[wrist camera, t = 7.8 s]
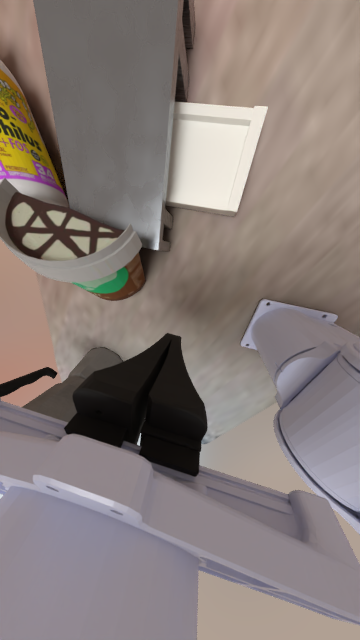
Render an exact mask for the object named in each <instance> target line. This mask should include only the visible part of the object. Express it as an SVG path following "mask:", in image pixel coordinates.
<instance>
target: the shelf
mask: <svg viewBox="0 0 360 640" xmlns="http://www.w3.org/2000/svg"><path fill="white" fill-rule="evenodd" d="M33 2H34V7H35V13H36V19H37V24H38V30H39V36H40V41H41V47H42V53H43V58H44V64H45V70H46V76H47V81H48V87H49V93H50V98H51V104H52V110H53V115H54V121H55V127H56V132H57V138H58V144H59V149H60V155H61V161H62V166H63V172H64V178H65V183H66V189H67V195H68V200H69V206H70V208H71V209H73V210H75V211H78V212H80V213H82V214H84V215H86V216H88V217H90V218H92V219H94V220H97V221H99V222H101V223H103V224H106V225H109V226H111V227H114V228H117V229H121V230H124V231H125V230H126V228H127V227H128V225H129V224H131V226H132V228H133V231H136V233H137V235H138V237H139V239H140V241H141V243H142V245H143V246H142V247H144V248H149V249H154V250H161V251H170V242H166V241H163V240H162V239H163V228H168V229H172V225H173V217H172V216H171V215H170V214H169V212H168V211H167V210H166V209H165V205H166V194H167V183H168V171H169V160H170V149H171V138H172V126H173V115H174V104H175V101H179V102H187V94H188V85H189V74H188V66H187V57H186V49H185V48H193V42H194V33H195V11H194V0H33Z"/></svg>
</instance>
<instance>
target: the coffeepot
mask: <svg viewBox="0 0 360 640" xmlns="http://www.w3.org/2000/svg"><path fill="white" fill-rule="evenodd" d="M122 362H123V361H122V360H121V358H120V357H119V356H118V355H117V354H116V353H114V352H113V351H111V350H109V349H106V348H95V349H91V350H90V351H89V352H88V353H87V354H86V356H85V357H84V358H83V359H82V360H81V361H80V362H79V364H78V365H77V366H76V367H75V368H74V369H73V370H72V371H71V373H70V374H69V376H68V378H67V379H66V380H65V381H64V382H63V383H60V384H56V385H54V386H53V387H51V388H50V389H48V390H47V391H45V392H44V393H42V394H41V395H39V396H38V397H37V398H35V399H33V400H32V401H30V402H29V403H28V404H26V405H25V406H23V407H22V408H25V409H28V410H31V411H34V412H37V413H40V414H43V415H46V416H50V417H53V418H56V419H59V420H62V421H65V422H68V423H69V421H70V420H71V419H72V418H73V416H74V415H75V414H76V413H77V411H76V408H75V405H74V402H73V397H72V395H73V392H74V391H75V390H76V389H77V388H78V387H79V386H80V385H81V383H82V382H83V381H84V380H85V379H86V378H87V377H88V376H90V375H91V374H92V373H93V372H94V371H97V370H101V369H104V368H107V367H111V366H114V365H116V364H119V363H122ZM45 375H47V376H50V377H52V378H53V379H54V378H55V377H56V375H57V372H56V371H54V370H53V369H51V368H49V367H46V368H43V369H40V370H38V371H35V372H32V373H30V374H27V375H25V376H22V377H19V378H16V379H14V380H11V381H8V382H6V383H3V384H0V397H2V396H5V395H8V394H10V393H12V392H14V391H15V390H17V389H19V388H20V387H22V386H24V385H27V384H31V383H33V382H35V381H37V380H38V379H39V378H41V377H42V376H45Z"/></svg>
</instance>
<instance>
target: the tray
mask: <svg viewBox="0 0 360 640" xmlns="http://www.w3.org/2000/svg"><path fill="white" fill-rule="evenodd" d="M267 109H268V107H265V106H255V107H254V108H246V107H234V106H222V105H210V104H198V103H185V102H175V104H174V115H173V126H172V138H171V149H170V160H169V171H168V183H167V194H166V205H165V206H171V207H177V208H184V209H190V210H196V211H202V212H208V213H214V214H220V215H226V216H232V217H234V216H235V214H236V213H237V210H238V207H239V203H240V200H241V197H242V193H243V190H244V186H245V183H246V180H247V176H248V173H249V170H250V166H251V163H252V159H253V156H254V153H255V149H256V146H257V142H258V139H259V136H260V132H261V129H262V126H263V122H264V119H265V115H266V112H267Z"/></svg>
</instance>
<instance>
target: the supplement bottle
mask: <svg viewBox="0 0 360 640" xmlns="http://www.w3.org/2000/svg"><path fill="white" fill-rule="evenodd" d="M3 178H5V179H6V180H8V181H9V182H10V183H11V184H12V185H13V186H14V187H15V188H16V189H17V190H18V191H19V192H20V193H22V194H24V195H27V196H30V197H32V198H35V199H38V200H41V201H43V202H46V203H50V204H55V205H60V206H64V207H67V208H68V207H69V205H68V201H67V199H66V196H65V193H64V191H63V189H62V186H61V184H60V181H59V179H58V176H57V174H56V172H55V169H54V167H53V164H52V162H51V159H50V157H49V154H48V152H47V150H46V147H45V145H44V142H43V140H42V137H41V135H40V132H39V130H38V128H37V125H36V123H35V120H34V118H33V115H32V113H31V110H30V108H29V105H28V103H27V101H26V98H25V96H24V94H23V92H22V90H21V88H20V86H19V84H18V82H17V81H16V79H15V78H14V76H13V75H12V73H11V72H10V71H9V69H8V68H7V67H6V66H5V65H4V63H3V62H2V61H1V60H0V182H1V181H2V180H3Z"/></svg>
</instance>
